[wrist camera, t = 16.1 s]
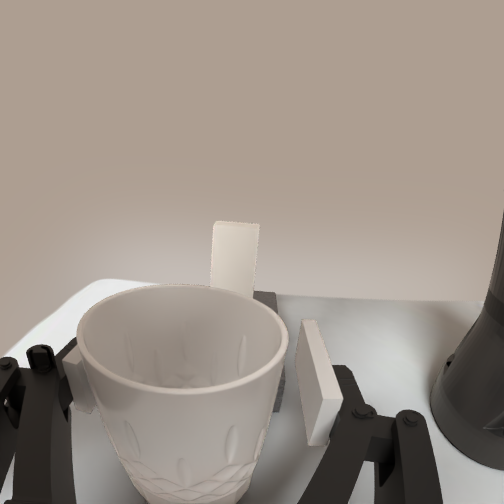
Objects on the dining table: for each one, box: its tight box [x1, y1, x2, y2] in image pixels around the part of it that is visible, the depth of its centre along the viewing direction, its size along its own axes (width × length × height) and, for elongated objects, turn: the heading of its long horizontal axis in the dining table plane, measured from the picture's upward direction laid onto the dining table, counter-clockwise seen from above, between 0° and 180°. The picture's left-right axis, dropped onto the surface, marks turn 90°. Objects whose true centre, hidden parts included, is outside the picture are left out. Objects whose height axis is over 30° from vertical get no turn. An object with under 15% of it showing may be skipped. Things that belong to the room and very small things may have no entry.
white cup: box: [76, 284, 289, 504], centre depth 12 cm, size 8×8×10 cm
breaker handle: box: [210, 221, 259, 298], centre depth 29 cm, size 2×4×8 cm, turn 88°
